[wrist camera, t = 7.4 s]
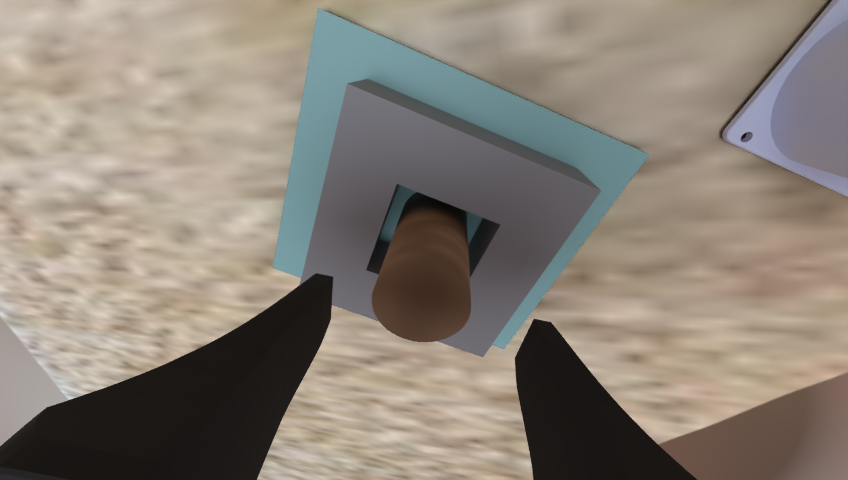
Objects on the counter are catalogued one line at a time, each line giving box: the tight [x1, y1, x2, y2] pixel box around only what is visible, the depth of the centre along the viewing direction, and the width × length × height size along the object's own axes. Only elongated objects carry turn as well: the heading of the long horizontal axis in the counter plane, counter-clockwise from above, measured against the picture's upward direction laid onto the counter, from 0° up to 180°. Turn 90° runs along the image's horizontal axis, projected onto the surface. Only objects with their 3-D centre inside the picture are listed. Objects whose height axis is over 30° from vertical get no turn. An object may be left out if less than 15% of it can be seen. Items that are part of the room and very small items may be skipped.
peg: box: [372, 192, 471, 342], centre depth 16 cm, size 4×4×8 cm
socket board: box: [273, 8, 649, 357], centre depth 19 cm, size 18×16×4 cm
